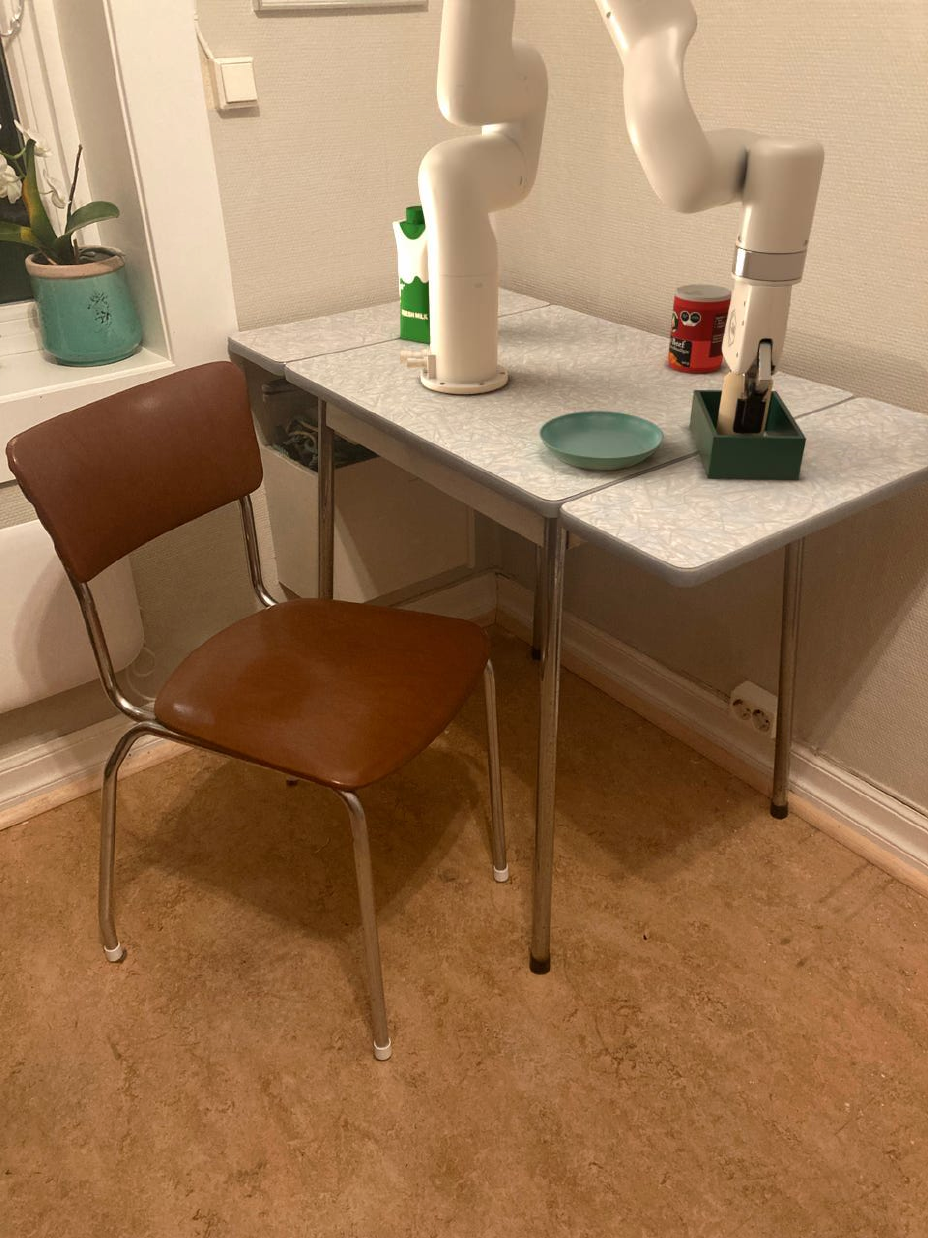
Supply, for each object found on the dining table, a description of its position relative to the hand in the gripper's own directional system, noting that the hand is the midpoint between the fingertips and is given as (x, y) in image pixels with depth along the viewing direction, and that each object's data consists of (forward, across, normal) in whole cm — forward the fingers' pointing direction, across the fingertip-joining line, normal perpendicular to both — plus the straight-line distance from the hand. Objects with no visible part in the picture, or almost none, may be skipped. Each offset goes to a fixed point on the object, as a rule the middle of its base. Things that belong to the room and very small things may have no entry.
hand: (741, 420), depth 114 cm
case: (+4, 0, 0) cm, 4 cm away
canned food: (+4, -33, -1) cm, 33 cm away
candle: (+4, 0, 0) cm, 4 cm away
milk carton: (+5, -47, -42) cm, 63 cm away
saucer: (+4, +1, -17) cm, 17 cm away
